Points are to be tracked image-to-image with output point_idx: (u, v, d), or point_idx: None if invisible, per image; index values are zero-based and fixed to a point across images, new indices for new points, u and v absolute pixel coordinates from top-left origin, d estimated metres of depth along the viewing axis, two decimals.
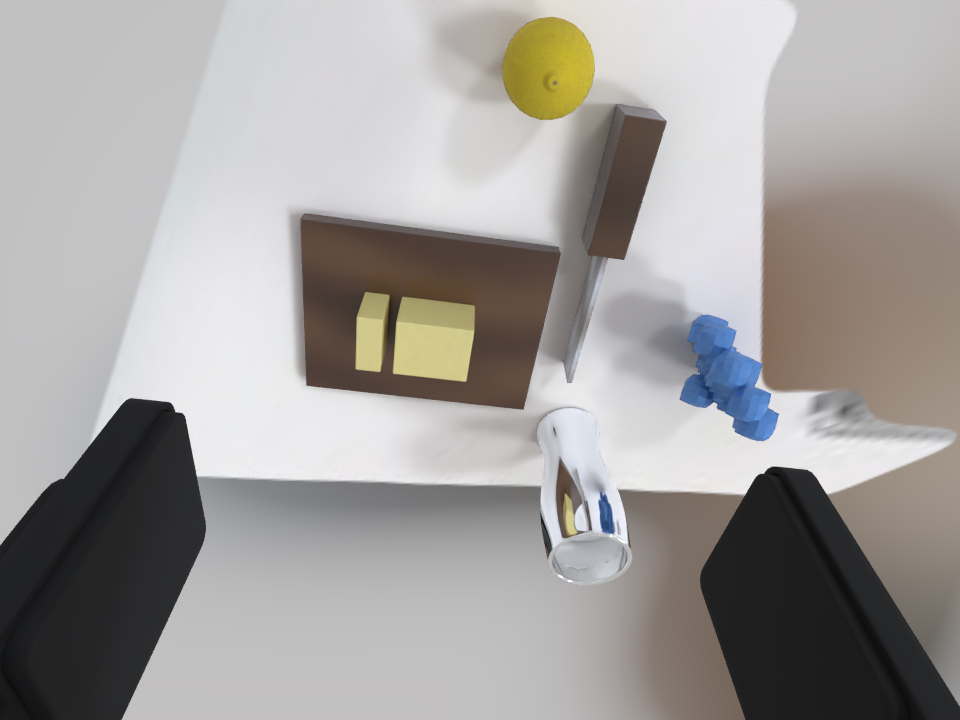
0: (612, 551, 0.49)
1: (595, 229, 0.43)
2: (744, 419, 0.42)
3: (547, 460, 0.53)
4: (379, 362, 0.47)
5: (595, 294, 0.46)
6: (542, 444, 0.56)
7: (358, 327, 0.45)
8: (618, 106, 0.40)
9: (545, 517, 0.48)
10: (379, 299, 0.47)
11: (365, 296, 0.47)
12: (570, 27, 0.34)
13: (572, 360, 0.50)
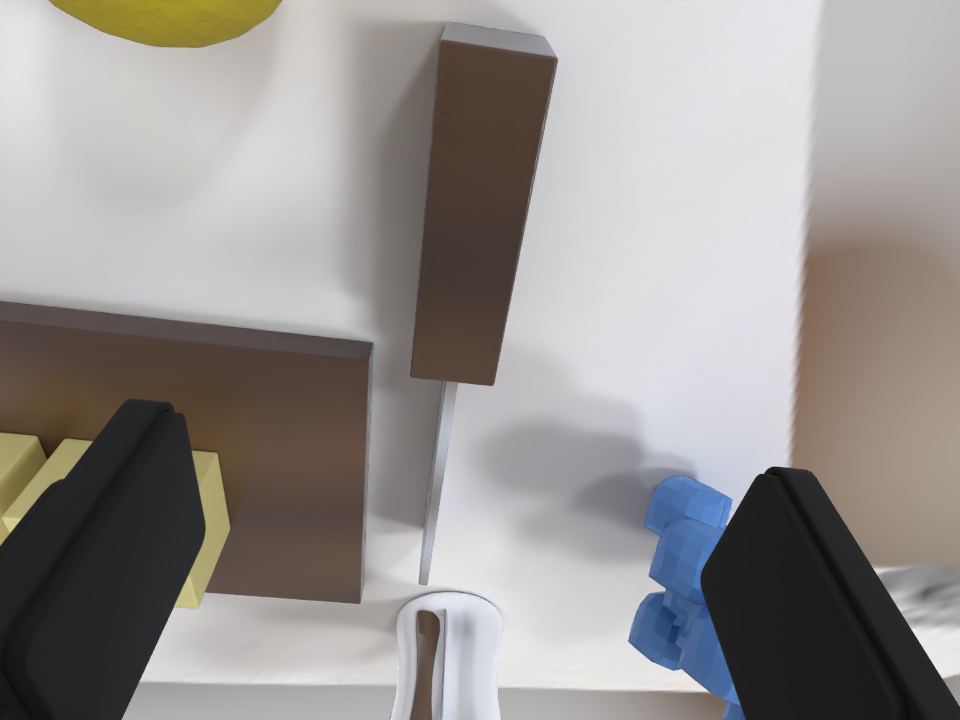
0: None
1: (417, 324, 0.18)
2: None
3: (394, 709, 0.29)
4: None
5: (444, 447, 0.22)
6: (398, 658, 0.32)
7: None
8: (445, 25, 0.16)
9: None
10: (3, 451, 0.23)
11: None
12: None
13: None
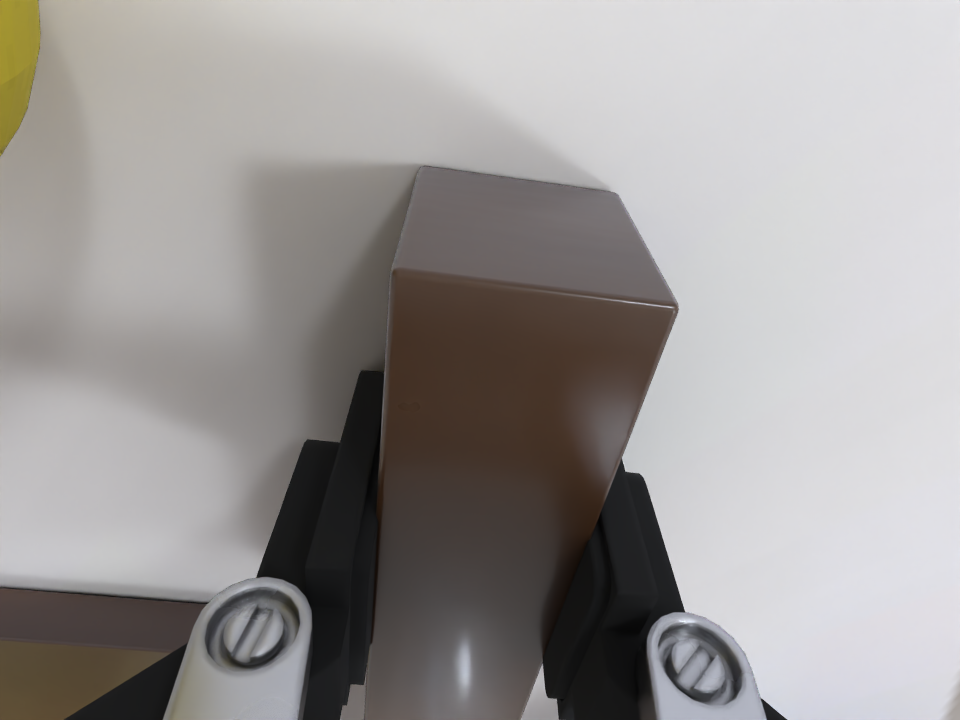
0: None
1: (369, 690, 0.10)
2: None
3: None
4: None
5: None
6: None
7: None
8: (417, 181, 0.08)
9: None
10: None
11: None
12: None
13: None
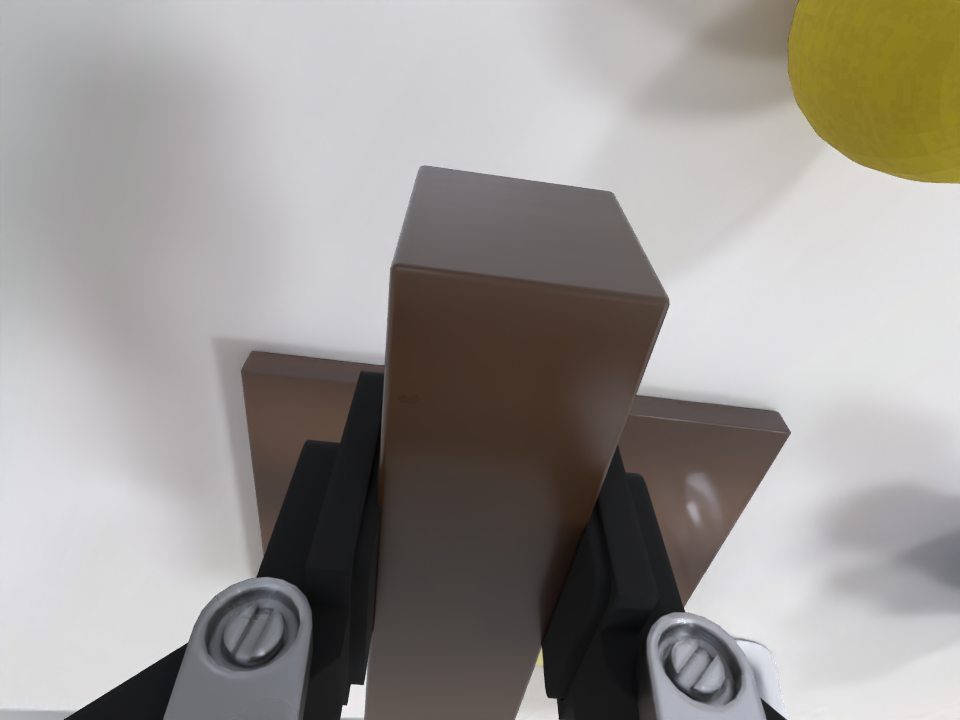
0: None
1: (370, 680, 0.10)
2: None
3: None
4: None
5: None
6: None
7: None
8: (417, 180, 0.08)
9: None
10: None
11: None
12: None
13: None
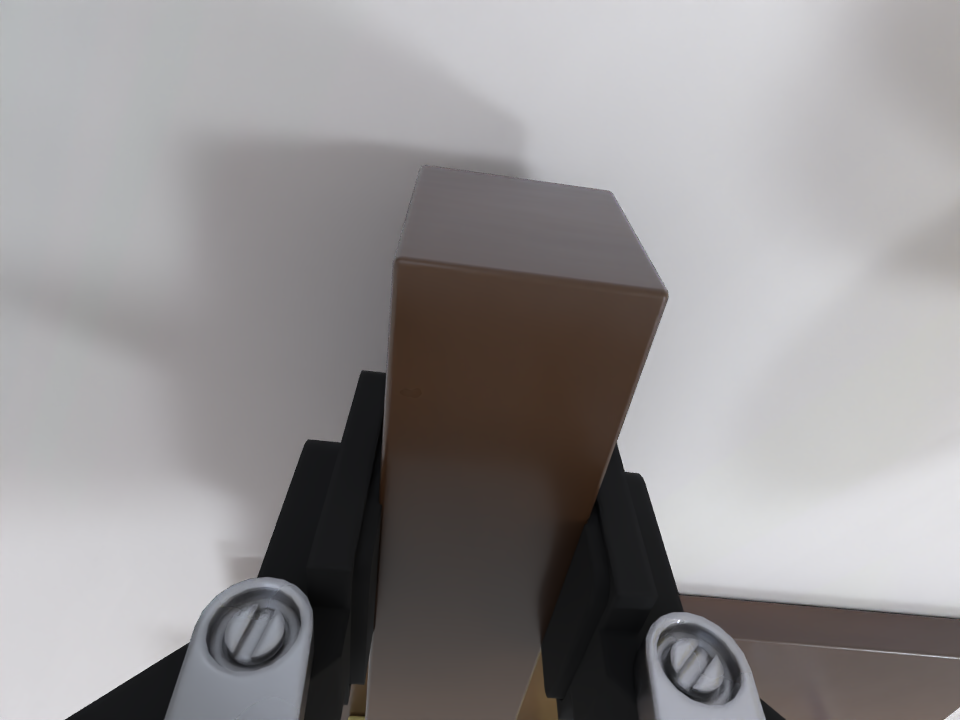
0: None
1: (371, 680, 0.10)
2: None
3: None
4: None
5: None
6: None
7: None
8: (418, 179, 0.08)
9: None
10: None
11: None
12: None
13: None
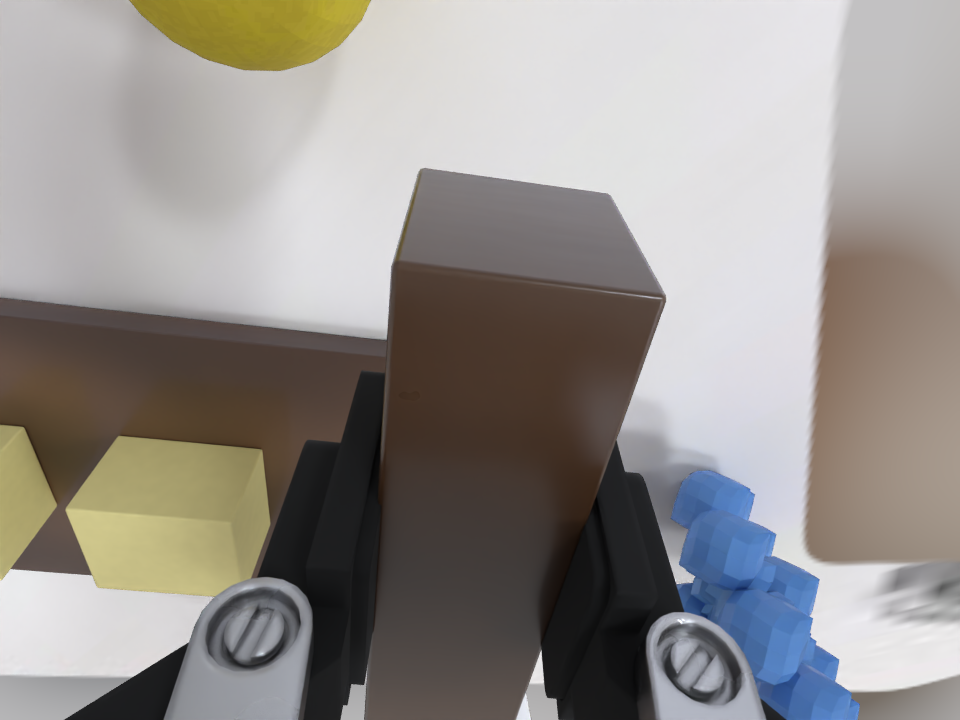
0: None
1: (370, 682, 0.10)
2: None
3: None
4: None
5: None
6: None
7: None
8: (417, 183, 0.08)
9: None
10: None
11: None
12: None
13: None
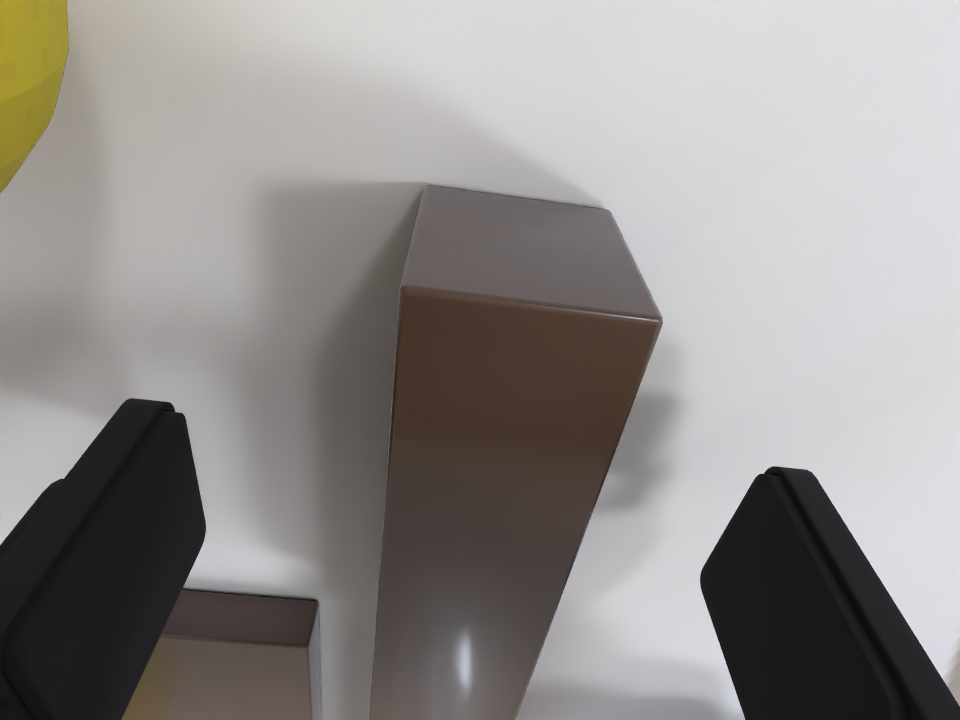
0: None
1: (375, 680, 0.10)
2: None
3: None
4: None
5: None
6: None
7: None
8: (422, 201, 0.08)
9: None
10: None
11: None
12: None
13: None
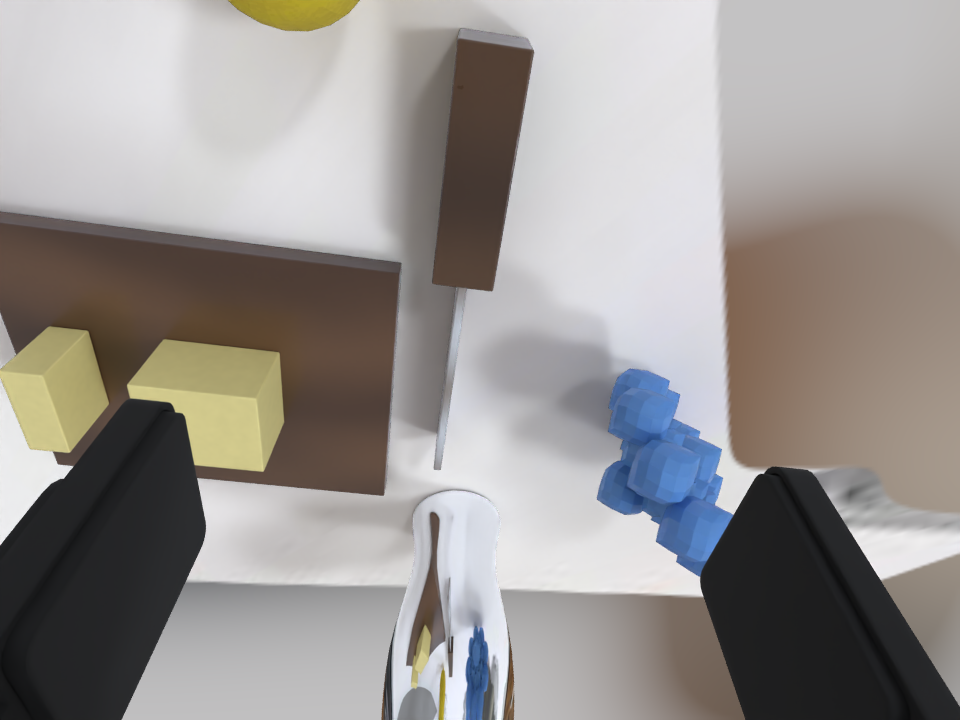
0: None
1: (438, 241, 0.26)
2: (685, 557, 0.25)
3: (411, 575, 0.36)
4: (62, 439, 0.30)
5: (456, 344, 0.29)
6: (414, 544, 0.39)
7: (6, 387, 0.28)
8: (460, 30, 0.23)
9: (385, 684, 0.31)
10: (63, 339, 0.30)
11: (42, 334, 0.30)
12: None
13: (437, 438, 0.33)
